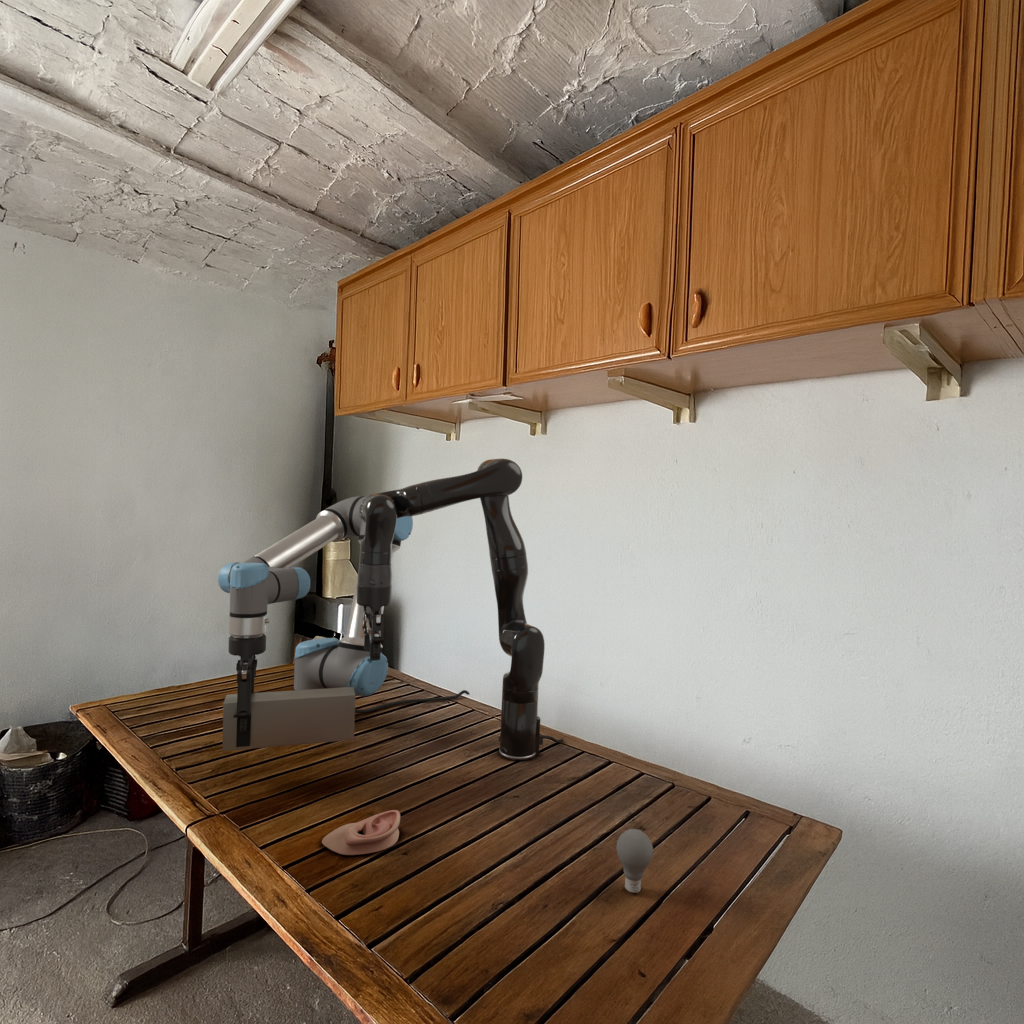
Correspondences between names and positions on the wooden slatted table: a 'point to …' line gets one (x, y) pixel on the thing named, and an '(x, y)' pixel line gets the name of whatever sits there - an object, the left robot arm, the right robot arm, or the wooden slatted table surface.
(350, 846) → the anatomical model
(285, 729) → the box
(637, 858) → the light bulb
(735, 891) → the wooden slatted table surface
